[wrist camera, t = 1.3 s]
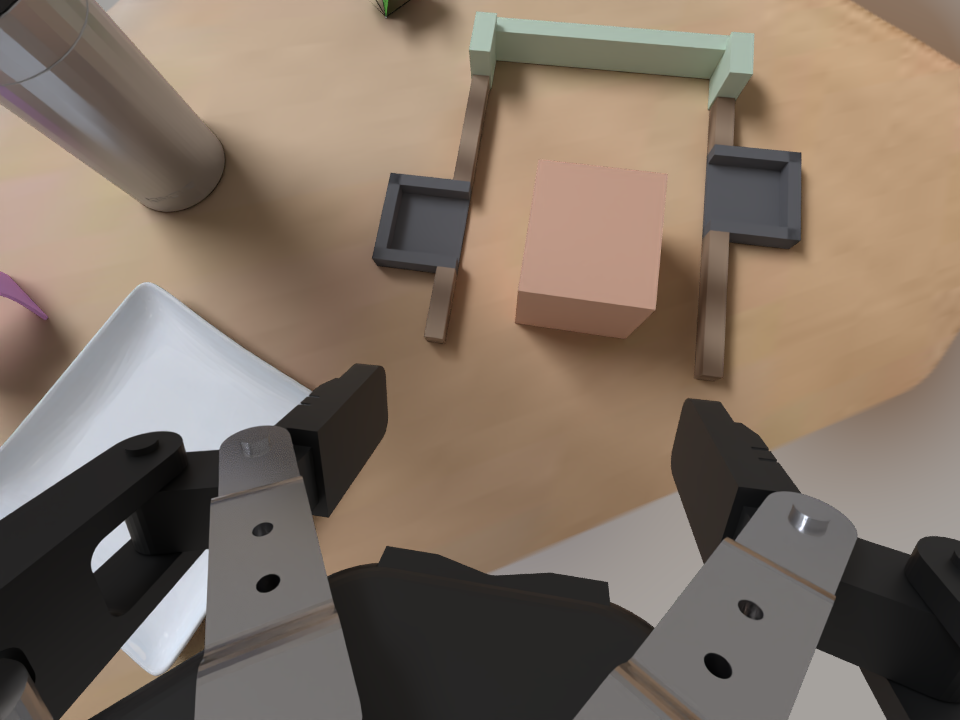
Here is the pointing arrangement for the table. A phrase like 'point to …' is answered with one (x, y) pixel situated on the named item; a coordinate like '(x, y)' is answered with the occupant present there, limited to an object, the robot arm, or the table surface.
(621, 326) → the terracotta block
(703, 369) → the walnut lane
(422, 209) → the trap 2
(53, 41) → the robot arm
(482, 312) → the table surface
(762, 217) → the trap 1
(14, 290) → the toy chair
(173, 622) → the salad plate
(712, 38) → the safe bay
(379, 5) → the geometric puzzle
